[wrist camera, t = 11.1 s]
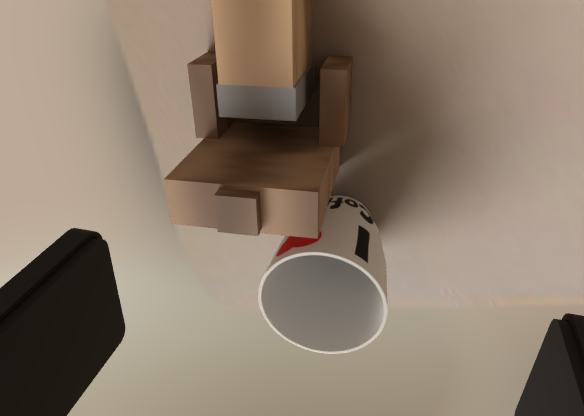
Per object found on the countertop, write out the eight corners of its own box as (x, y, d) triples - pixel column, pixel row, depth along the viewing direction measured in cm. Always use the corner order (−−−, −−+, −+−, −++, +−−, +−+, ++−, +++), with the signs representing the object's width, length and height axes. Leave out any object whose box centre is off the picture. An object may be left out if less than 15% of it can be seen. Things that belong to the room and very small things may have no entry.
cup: (398, 183, 36) (394, 261, 28) (386, 271, 40) (380, 363, 32) (291, 172, 37) (256, 244, 29) (290, 258, 42) (259, 343, 33)
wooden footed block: (352, 56, 32) (329, 107, 23) (347, 166, 36) (326, 247, 27) (206, 52, 34) (132, 97, 25) (217, 157, 38) (156, 229, 29)
